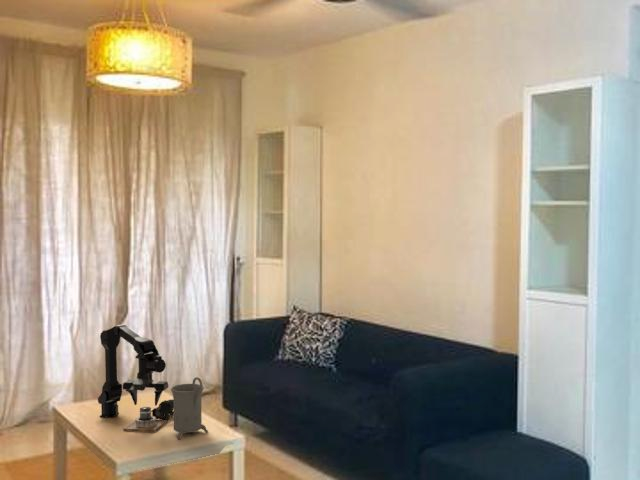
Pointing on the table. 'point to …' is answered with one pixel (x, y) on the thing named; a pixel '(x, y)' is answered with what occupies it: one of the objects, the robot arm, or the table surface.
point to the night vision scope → (164, 410)
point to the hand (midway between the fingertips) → (145, 405)
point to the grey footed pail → (187, 407)
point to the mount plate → (146, 429)
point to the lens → (145, 413)
